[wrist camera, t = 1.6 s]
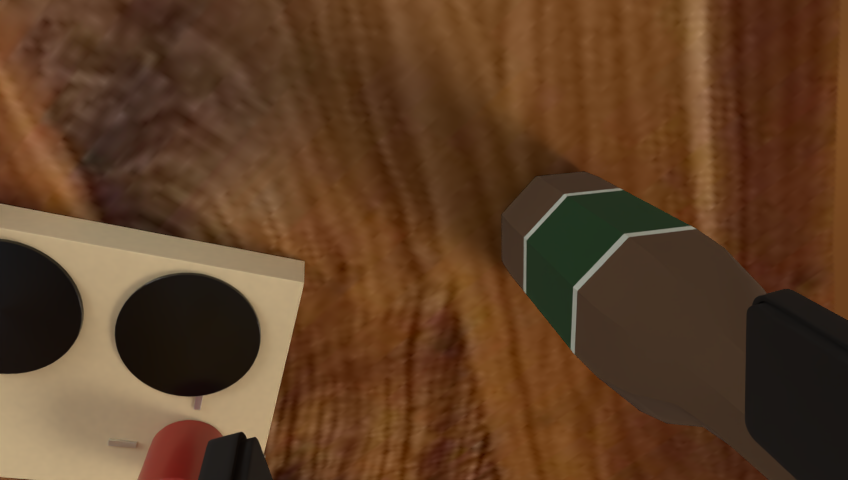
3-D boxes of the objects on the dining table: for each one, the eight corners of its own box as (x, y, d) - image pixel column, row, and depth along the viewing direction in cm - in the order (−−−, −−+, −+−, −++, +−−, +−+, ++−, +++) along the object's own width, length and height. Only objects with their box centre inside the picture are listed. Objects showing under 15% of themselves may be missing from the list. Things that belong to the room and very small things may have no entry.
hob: (-76, 446, 33) (-113, 487, 30) (-67, 190, 29) (-110, 209, 26) (255, 477, 37) (251, 515, 35) (306, 261, 33) (306, 284, 30)
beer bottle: (632, 252, 37) (1121, 597, 15) (521, 309, 37) (843, 743, 15) (593, 141, 34) (1132, 366, 12) (472, 204, 34) (783, 547, 12)
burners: (-85, 359, 28) (-89, 363, 28) (-81, 223, 26) (-85, 225, 26) (247, 401, 32) (247, 404, 32) (273, 286, 30) (272, 288, 30)
